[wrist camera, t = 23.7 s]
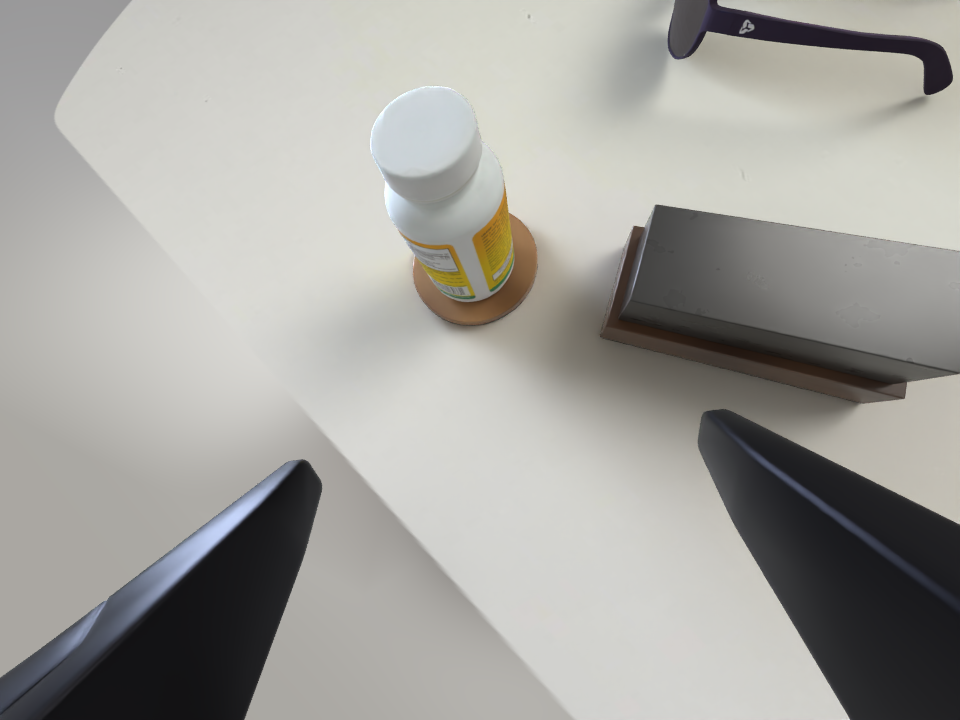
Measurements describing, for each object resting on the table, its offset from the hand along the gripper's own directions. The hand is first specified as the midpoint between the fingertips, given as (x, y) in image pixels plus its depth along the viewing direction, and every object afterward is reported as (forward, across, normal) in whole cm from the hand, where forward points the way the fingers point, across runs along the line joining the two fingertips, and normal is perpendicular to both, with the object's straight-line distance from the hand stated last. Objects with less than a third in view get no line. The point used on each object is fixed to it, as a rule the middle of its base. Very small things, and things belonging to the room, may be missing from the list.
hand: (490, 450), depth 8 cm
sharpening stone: (+12, -12, +4) cm, 18 cm away
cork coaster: (+16, +1, 0) cm, 16 cm away
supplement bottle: (+16, +1, 0) cm, 16 cm away
